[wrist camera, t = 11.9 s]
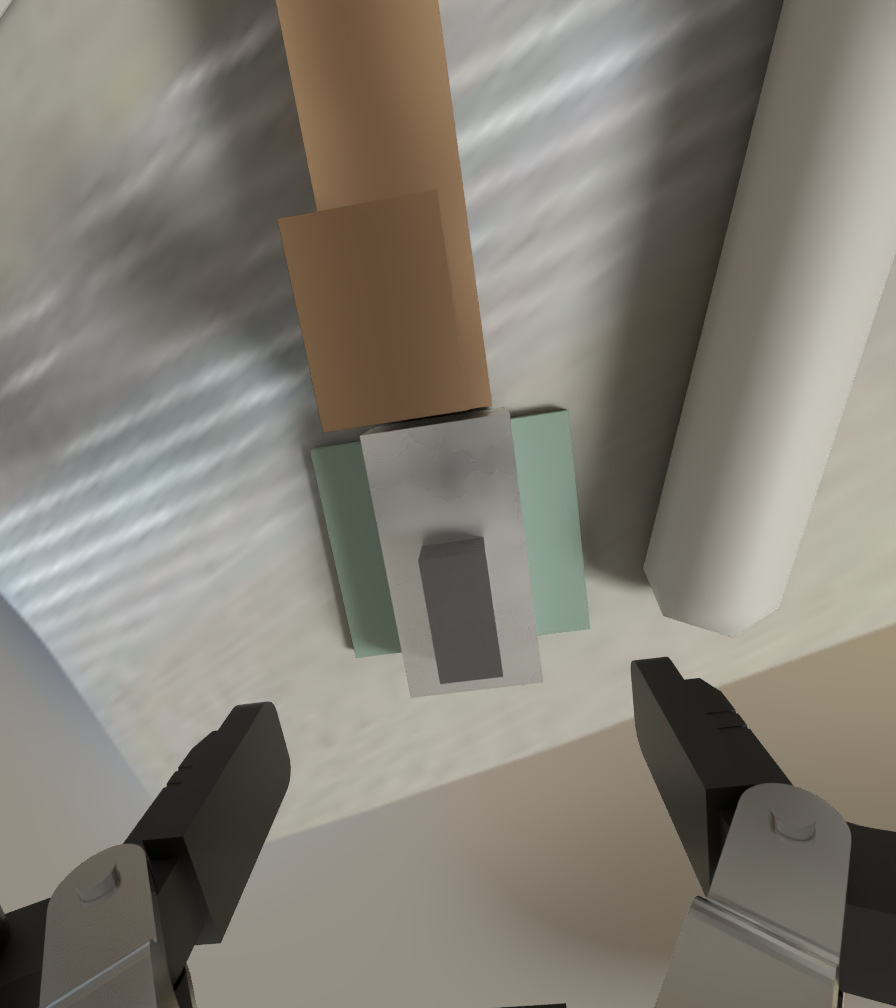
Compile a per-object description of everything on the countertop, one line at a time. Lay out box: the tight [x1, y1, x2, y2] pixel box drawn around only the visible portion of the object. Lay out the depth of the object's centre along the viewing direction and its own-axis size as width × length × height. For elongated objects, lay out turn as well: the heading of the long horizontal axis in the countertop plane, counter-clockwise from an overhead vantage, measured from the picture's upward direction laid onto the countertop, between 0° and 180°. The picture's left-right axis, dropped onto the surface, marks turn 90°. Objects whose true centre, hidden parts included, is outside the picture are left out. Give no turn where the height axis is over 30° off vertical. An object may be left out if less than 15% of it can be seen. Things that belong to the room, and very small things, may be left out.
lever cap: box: [360, 407, 543, 698], centre depth 21 cm, size 6×11×5 cm, turn 9°
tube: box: [643, 0, 896, 638], centre depth 19 cm, size 5×5×25 cm
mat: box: [310, 409, 590, 658], centre depth 23 cm, size 11×10×1 cm
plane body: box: [276, 0, 492, 433], centre depth 14 cm, size 4×22×12 cm, turn 9°
